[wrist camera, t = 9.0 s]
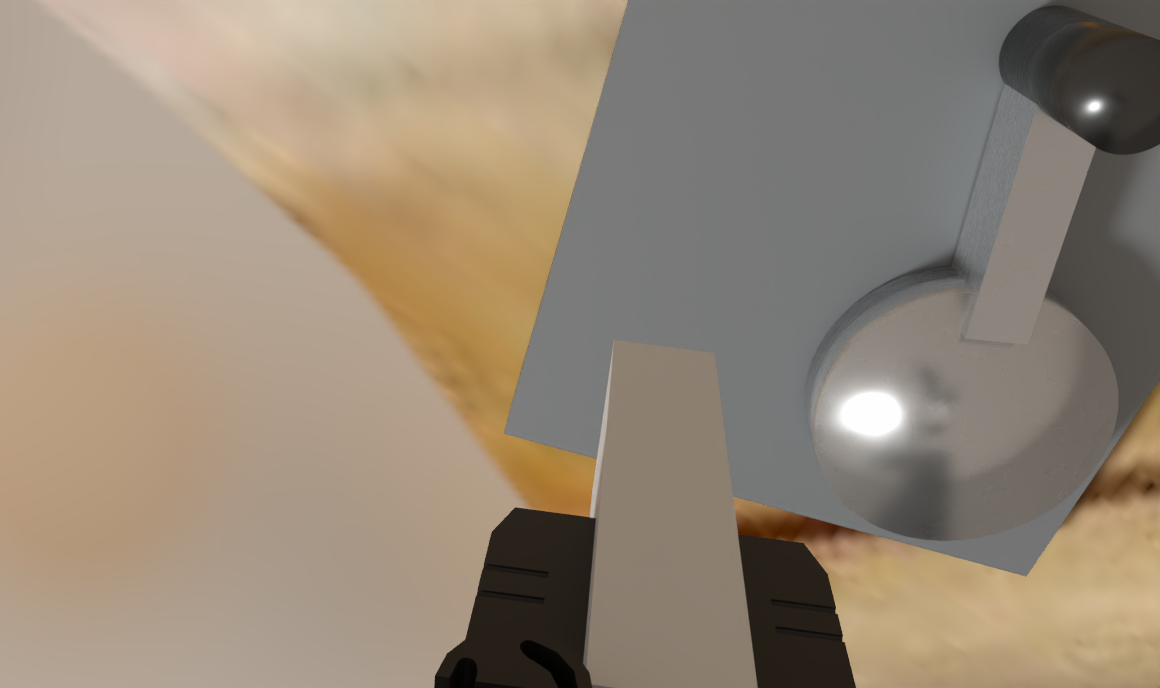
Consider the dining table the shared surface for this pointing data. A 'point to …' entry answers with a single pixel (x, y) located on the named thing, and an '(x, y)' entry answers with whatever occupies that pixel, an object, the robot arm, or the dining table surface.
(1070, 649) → the dining table surface
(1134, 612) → the dining table surface
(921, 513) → the cam lever
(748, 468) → the stand
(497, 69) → the dining table surface
